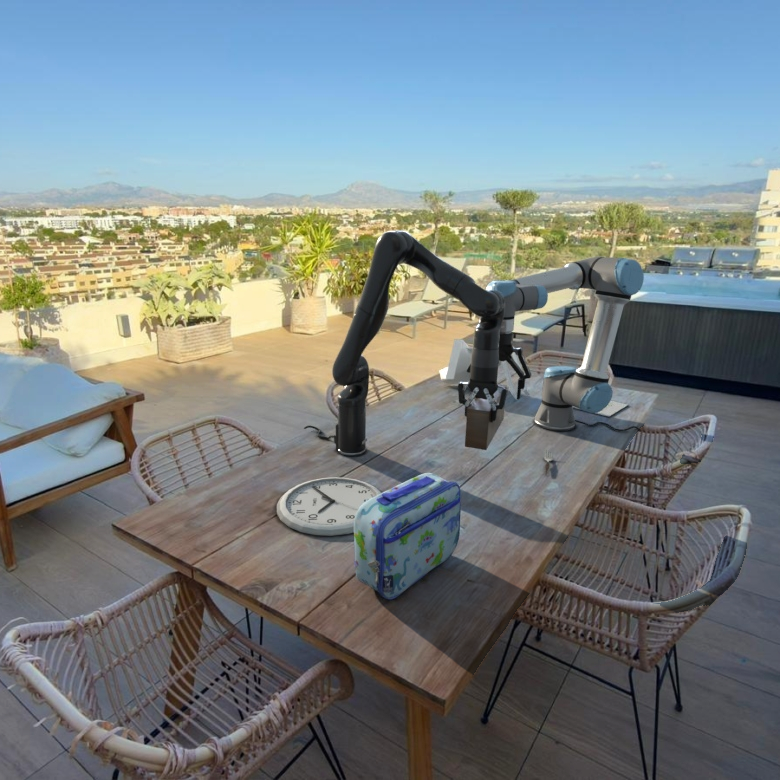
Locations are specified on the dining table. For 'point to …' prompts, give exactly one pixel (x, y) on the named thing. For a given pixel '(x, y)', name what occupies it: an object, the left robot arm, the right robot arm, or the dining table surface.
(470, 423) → the box
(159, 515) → the dining table surface
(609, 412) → the invitation card
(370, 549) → the lunch box
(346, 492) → the wall clock
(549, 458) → the fork
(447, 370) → the white plastic object
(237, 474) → the dining table surface
